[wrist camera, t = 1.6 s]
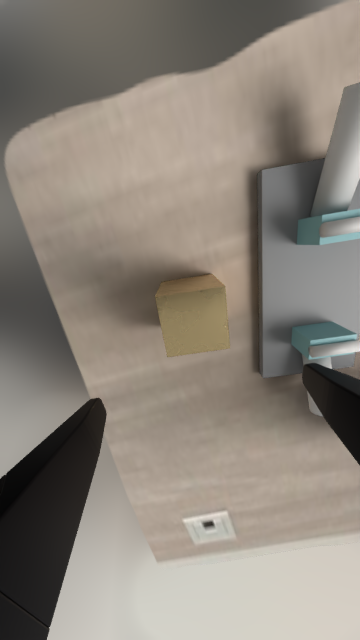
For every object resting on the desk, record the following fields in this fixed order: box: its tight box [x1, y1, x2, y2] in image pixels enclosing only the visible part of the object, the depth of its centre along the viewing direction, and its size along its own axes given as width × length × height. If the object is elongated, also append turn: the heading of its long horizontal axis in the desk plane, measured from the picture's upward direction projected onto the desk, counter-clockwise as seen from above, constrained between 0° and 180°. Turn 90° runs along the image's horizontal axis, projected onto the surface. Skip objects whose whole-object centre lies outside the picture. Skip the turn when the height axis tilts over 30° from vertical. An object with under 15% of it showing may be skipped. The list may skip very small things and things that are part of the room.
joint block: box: [155, 274, 230, 357], centre depth 17 cm, size 5×5×6 cm
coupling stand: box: [257, 83, 360, 416], centre depth 17 cm, size 10×26×5 cm, turn 9°
